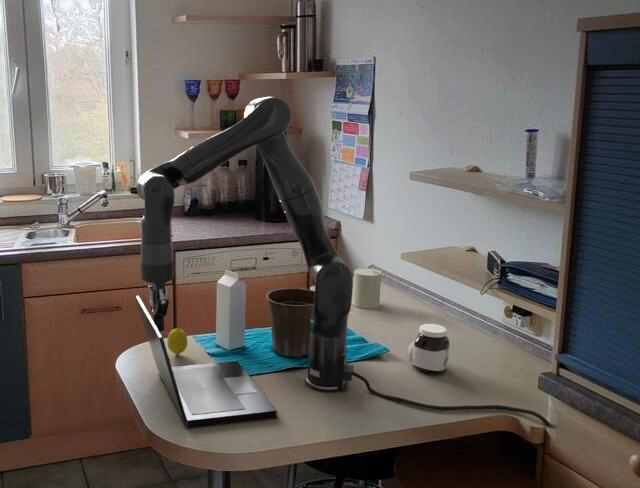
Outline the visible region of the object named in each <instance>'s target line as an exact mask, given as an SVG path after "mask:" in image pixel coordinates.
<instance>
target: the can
mask: <svg viewBox="0 0 640 488" xmlns="http://www.w3.org/2000/svg"><path fill="white" fill-rule="evenodd" d="M382 274H383V272H382V271H381V270H379V269H375V268H369V267H368V268H366V267H363V268H362V267H361V268H356V269H354V270H353V290H352V301H351V305H353V307H356V308H359V309H365V310H367V309H368V310H369V309H370V310H371V309H377V308H379V307H380V306H381V304H380V301H381V287H382Z"/></svg>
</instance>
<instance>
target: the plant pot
mask: <svg viewBox="0 0 640 488" xmlns="http://www.w3.org/2000/svg"><path fill="white" fill-rule="evenodd" d="M314 297H315V290H312V289H308V288H302V287H301V288H300V287H285V288H283V287H282V288H277V289H274V290H271V291H269V292H267V293H266V295H265V299H266V300H267V306H268V311H269V317H270V318H269V319H270V331H271V343H272V352H276V354H277V355H279V356H282V357H285V358H302V357H303V356H306V357H308V356H309V334H310V313H311V308H312V307H313V306H314Z"/></svg>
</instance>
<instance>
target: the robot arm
mask: <svg viewBox="0 0 640 488" xmlns="http://www.w3.org/2000/svg"><path fill="white" fill-rule="evenodd" d="M244 109H245V110H244V112H243V118H242V119H241V120H239V121H238V122H237V123H235V124H234V125H231V126H229V127H228V128H227V129H225V130H223V131H221V132H219V133H216V134H213V135H212V136H210V137H208V138H206V139H204V140H202V141H200V142H198V143H196V144H195V145H193V146H191V147H190V148H188V149H187V150H185V151H184V152H183V151H182V153H181V154H179V155H177V156H176V157H174V158H173V159H171V160H169V161H165V162H163V163H161V164H159V165H157V166H155V167H152V168H151V169H149V170H147V171H146V172H145V173H143V174H142V175H141V176H140V177H139V179H138V181H137V183H136V193H137V194H138V196H139V198H140V199H142V200H143V202H144V215H143V216H142V218H141V221H140V277H141V280H142V281H143V282H146V283H149V285H147V291H148V296H149V304H150V310H151V314H152V317H153V321H154V323H155V325H156V326H157V328H158V330H159V332H164V330H165V317H166V316H167V313H168V308H169V304H170V300H169V298H168V295H169V289H168V287H166V283H167V282H171V281H172V280H174V278H175V272H174V271H175V269H174V247H173V246H174V245H173V233H172V232H173V231H172V229H173V227H172V219H173V214H174V206H175V194H176V193H175V189H178V188H179V187H181V186H190V185H192V184H194V183H195V182H198V181H199V180H200V179H202V178H203V177H205V176H206V175H208V174H210V173H211V172H213V171H214V170H216V169H217V168H219V167H220V166H222V165H223V164H225V163H226V162H228V161H229V160H231V159H232V158H234V157H235V156H237V155H240V154H241V153H243V152H245V151H246V150H248V149H250V148H252V147H254V146H256V148H257V150H258V153H259V154H260V155H261V157H262V160H263V162H264V165H265V168H266V170H267V174H268V176H269V178H270V180H271V184H272V186H273V188H274V190H275V193H276V196H277V199H278V202H279V204H280V207H281V208H282V211H283V213H284V216H285V217H286V220H287V222H288V224H289V226H290V227H291V230H292V231H293V233H294V235H295V236H296V238H297V240H298V243H299V244H300V247H301V249H302V253H303V256H304V259H305V262H306V266H307V271H308V273H309V278H310V280H311V282H312V284H313V285H314V291H315V297H314V306H313V307H312V308H311V313H310V334H309V356H307V357H308V358H307V359H308V360H307V377H306V384H307V385H308V386H309V387H310V388H312V389H314V390H317V391H322V392H335V391H336V392H337V391H343V390H344V387H345V383H346V382H352V379H353V377H355V378H357V379H359V380H361V381H362V382H363V383H364V384H365V387H366V389H367V390H368V391H369V392H370V393H371V394H372V395H375V396H378V397H380V398H383V399H386V400H389V401H394V402H395V401H396V402H400V403H404V404H407V405H411V406H415V407H418V408H422V409H428V410H434V411H435V410H436V411H465V410H472V411H473V410H476V411H477V410H480V411H481V410H504V411H511V412H516V413H522V414H527V415H531V416H534V417H536V418H537V419H539V420H540V421H541V422H542V423H543V424H544V425H545V426H546V427H549V428H550V427H552V424H551V423H550V421H549V420H548V419H547V418H546V417H544V416H543V415H541V414H540V413H538V412H536V411H534V410H531V409H526V408H519V407H513V406H507V405H499V404H497V405H496V404H488V405H487V404H486V405H485V404H483V405H451V406H449V405H448V406H446V405H445V406H443V405H433V404H426V403H422V402H418V401H414V400H410V399H406V398H403V397H399V396H394V395H387V394H383V393H380V392H378V391H376V390H374V389H373V388H372V386H371V384H370V382H369V381H368V379H367V378H366V377H364V376H363V375H361V374H359V373H357V372H355V371H354V367H355V365H354V364H349V363H347V356H348V355H347V354H348V347H347V340H348V339H347V337H348V322H349V321H348V320H349V315H350V312H351V310H352V301H353V289H354V274H353V271H352V269H351V268H350V266H349V265H348V264H347V263H346V262H344V260H343V259H342V258H341V257H340V255H339V254H338V252H337V250H336V248H335V246H334V244H333V242H332V240H331V237H330V236H329V233H328V232H329V231H328V229H327V225H326V218H325V212H324V207H323V204H322V200H321V198H320V194H319V193H318V190H317V187H316V186H315V182H314V180H313V179H312V177H311V175H310V174H309V172H308V170H307V169H306V168H305V166H304V165H303V164H302V163H301V161H300V160H299V159H298V157H297V156H296V155H295V153H294V152H293V150H292V148H291V146H290V145H289V142H288V140H287V136H286V134H285V132H286V131H287V129H288V128H289V126H290V125H291V122H292V118H293V114H292V113H293V112H292V109H291V106H290V105H289V103H288V102H287V101H286V100H284V99H283V98H281V97H278V96H277V97H276V96H264V97H257V98H255V99H253V100H251V101H249V103H248V104H247V105H246V107H245V108H244Z"/></svg>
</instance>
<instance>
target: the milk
mask: <svg viewBox="0 0 640 488" xmlns="http://www.w3.org/2000/svg"><path fill="white" fill-rule="evenodd" d="M239 277H240V276H239V273H236V272H234V271H230V270H228V269H225V270H224V275H223V276H222V277H221V278H219V279H218V280H217V282H216V313H215V314H216V316H215V317H216V318H215V319H216V320H215V321H216V323H215V345H217V346H218V347H221V348H223V349H225V350H227V351H231V350H235V349H239V348H242V347H245V344H246V309H247V307H246V304H247V283H246V282H244V281H243V280H241V279H239Z"/></svg>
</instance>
